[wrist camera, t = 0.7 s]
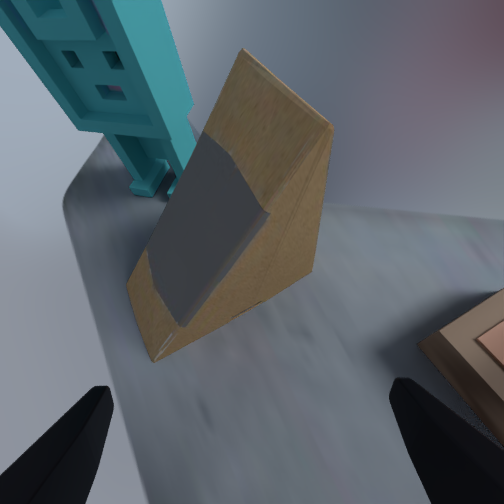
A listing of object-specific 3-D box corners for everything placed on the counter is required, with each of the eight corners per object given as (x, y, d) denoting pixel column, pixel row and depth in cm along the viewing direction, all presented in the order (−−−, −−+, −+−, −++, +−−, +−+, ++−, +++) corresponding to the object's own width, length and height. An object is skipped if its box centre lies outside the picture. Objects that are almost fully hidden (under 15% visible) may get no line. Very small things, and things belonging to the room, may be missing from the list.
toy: (125, 193, 32) (-65, -61, 15) (148, 157, 35) (9, -94, 18) (200, 205, 30) (77, -78, 13) (219, 165, 33) (137, -114, 16)
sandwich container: (123, 283, 27) (-35, 157, 14) (264, 209, 29) (242, 43, 16) (151, 368, 22) (-39, 302, 10) (314, 274, 25) (337, 119, 12)
